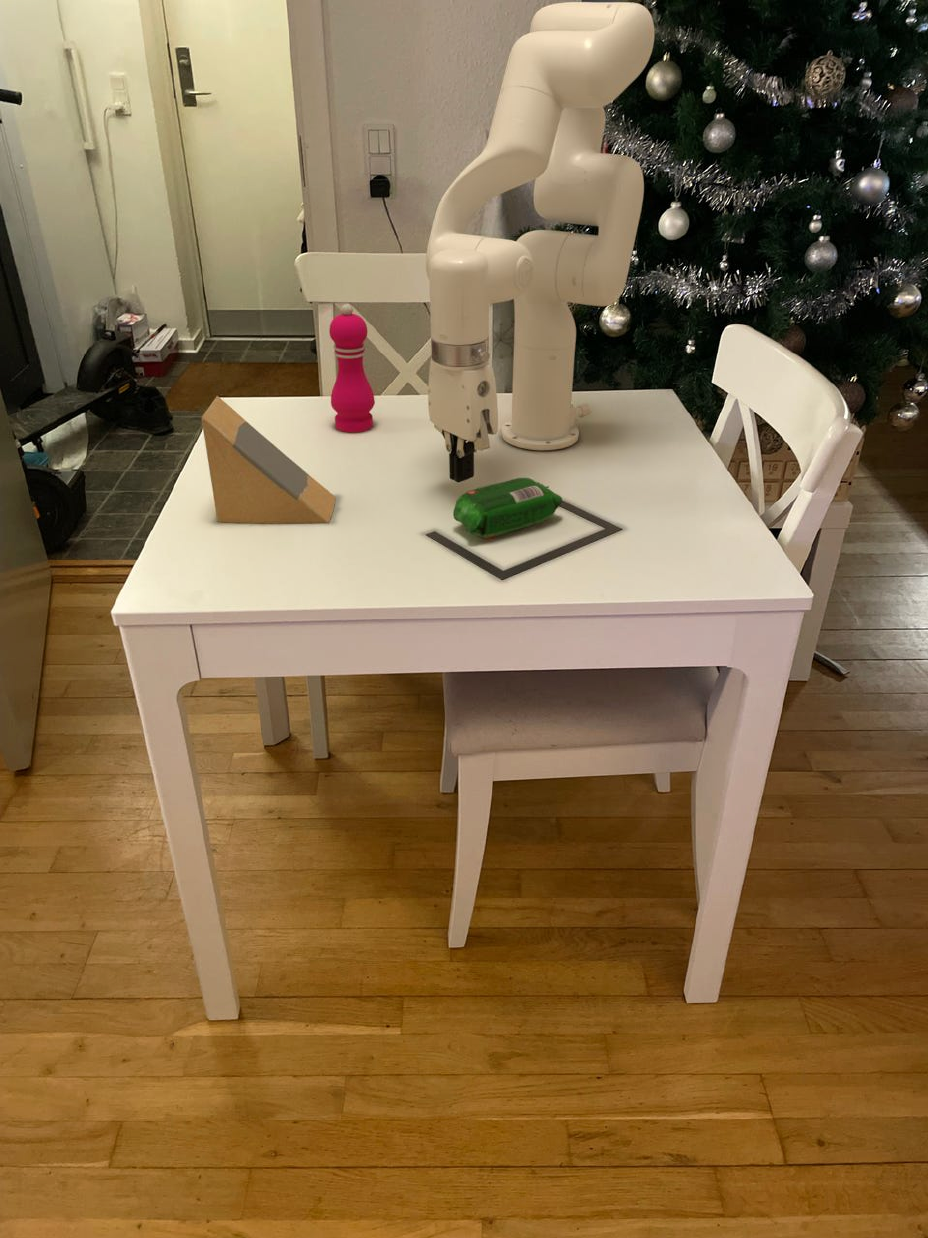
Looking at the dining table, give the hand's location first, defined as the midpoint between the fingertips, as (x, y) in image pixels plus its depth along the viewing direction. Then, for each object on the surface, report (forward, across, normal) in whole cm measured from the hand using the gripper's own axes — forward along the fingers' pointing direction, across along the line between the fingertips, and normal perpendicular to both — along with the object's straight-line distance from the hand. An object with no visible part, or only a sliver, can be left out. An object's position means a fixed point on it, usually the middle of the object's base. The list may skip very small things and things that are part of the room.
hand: (461, 477), depth 134 cm
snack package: (+3, -11, +1) cm, 11 cm away
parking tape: (+2, -14, +1) cm, 15 cm away
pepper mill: (+3, +32, -3) cm, 33 cm away
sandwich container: (+2, +12, +23) cm, 26 cm away
